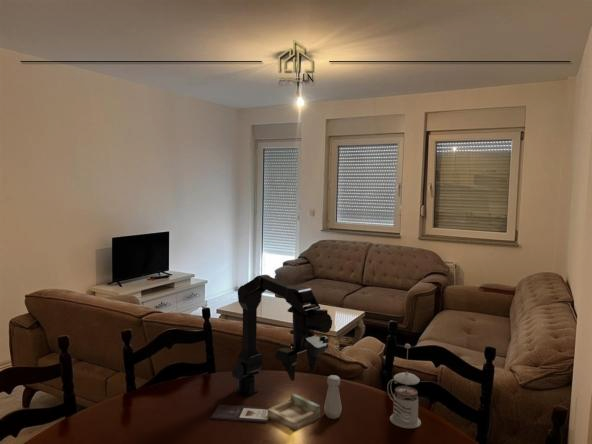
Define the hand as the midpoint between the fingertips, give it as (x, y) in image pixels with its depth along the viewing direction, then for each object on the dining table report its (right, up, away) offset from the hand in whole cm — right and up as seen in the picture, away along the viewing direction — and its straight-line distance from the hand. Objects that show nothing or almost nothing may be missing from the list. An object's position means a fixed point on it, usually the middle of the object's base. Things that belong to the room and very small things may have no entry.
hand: (302, 376), depth 136 cm
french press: (+32, -15, +2) cm, 36 cm away
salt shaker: (+10, -15, +4) cm, 18 cm away
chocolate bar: (-20, -14, +4) cm, 25 cm away
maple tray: (-3, -14, +2) cm, 15 cm away
